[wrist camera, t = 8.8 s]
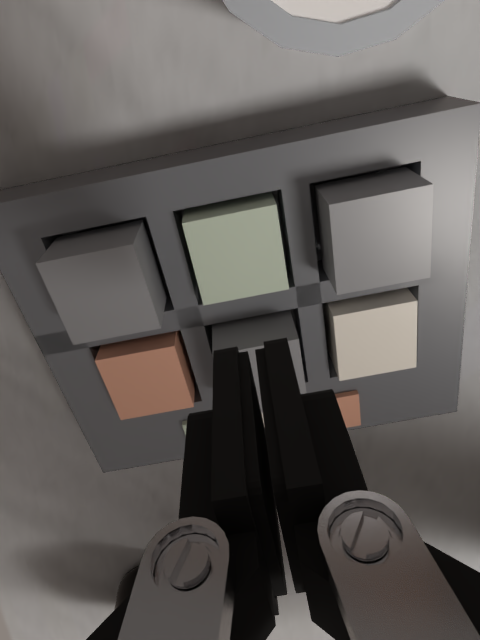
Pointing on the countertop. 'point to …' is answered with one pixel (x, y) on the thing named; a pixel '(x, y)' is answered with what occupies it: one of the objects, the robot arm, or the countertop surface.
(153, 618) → the robot arm
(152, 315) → the keypad
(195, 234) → the key sage
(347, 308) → the key cream
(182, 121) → the countertop surface
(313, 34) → the white oval cup
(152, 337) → the key terracotta
